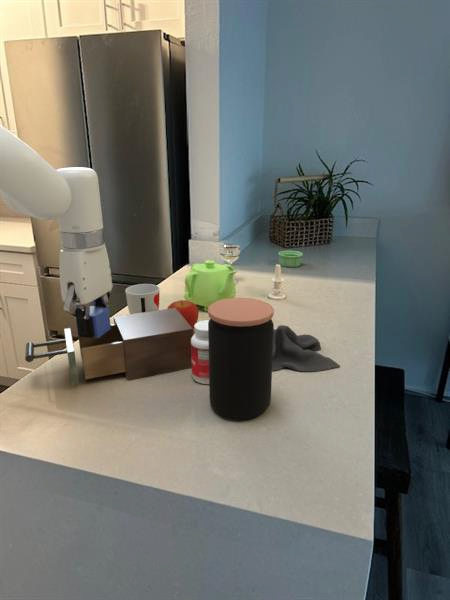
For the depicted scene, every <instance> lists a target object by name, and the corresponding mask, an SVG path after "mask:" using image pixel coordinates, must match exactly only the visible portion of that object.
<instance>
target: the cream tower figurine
mask: <svg viewBox="0 0 450 600" xmlns="http://www.w3.org/2000/svg"><path fill="white" fill-rule="evenodd" d="M281 275H282V266H281V265H280V264H279V263H277V264H275V271H274V277H273V278H270V281H271V282H273V287H272V288H271V292H270V293H268V295H267V298H269V299H270V300H274V301H280V300H284V299H286V297H287V295H286V294H285V293H284V292H283V291H284V290H283V288H282V282H285V279H284V278H282V276H281ZM282 292H283V293H282Z"/></svg>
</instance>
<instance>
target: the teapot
mask: <svg viewBox="0 0 450 600" xmlns="http://www.w3.org/2000/svg"><path fill="white" fill-rule="evenodd" d="M236 273H238V270H234V267H233V266H230V265H229V263H228V264H220V263H217V262H216V261H215V260H214V259H213V260H212V259H207V260H204V263H193V264H192V265H191V266H190V270H189V272H188V273H187V274H186V275H185V276H184V295H183V297H184V300H186V301H190V302H193V303H194V304H195V305H196V306H202V307H203V311H204V312H208V308H209V306H210V305H211V304H213V303H214V302H216V301H219V300H223V299H228V298H236V295H237V289H236V284H235V283H234V280H235V279H234V277H235V274H236Z"/></svg>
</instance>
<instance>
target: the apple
mask: <svg viewBox="0 0 450 600" xmlns="http://www.w3.org/2000/svg"><path fill="white" fill-rule="evenodd" d="M197 306H198V305H195V304H194V303H193V302H191V301H190V300H186V299H184V300H183V299H182V300H181V299H180V300H177V301H173V302H171V303H170V304H169V305H168V306H167V309H170V308H176V309H177V310H178V311H179V313H180V314H181V315H182V316H183V317H184V319H185V320H186V321H187V322H188V323H189V325H190V326H191V327H192V328H193V331H194V325H195V324H196V323H197V322H199V321H198V320H199V314H200V313H199V311H200V310H199V308H198V307H197Z"/></svg>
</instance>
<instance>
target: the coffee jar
mask: <svg viewBox="0 0 450 600" xmlns="http://www.w3.org/2000/svg"><path fill="white" fill-rule="evenodd" d="M207 313H208V318H210V319H208V320H209V322H208V340H209V384H208V386H209V390H208V391H209V404H210V405H211V407H212V408H213V409H214V411H216V413H217V414H218V415H220V416H221V417H224V418H226V419H229V420H235V421H249V420H252V419H255V418H258V417H259V416H262V415H263V414H264V413H265V411H266V410H267V409H268V408H269V407H270V405H271V402H272V382H273V381H272V379H273V371H272V356H273V329H275V328H274V327H275V325H274V321H273V320H272V319H273V317H274V313H275V309H274V307H273V305H272V304H270V303H269V302H267V301H264V300H262V299H257V298H253V297H234V298H228V299H223V300H219V301H216V302H214V303H213V304H211V305H210V306H209V308H208V311H207Z"/></svg>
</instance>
